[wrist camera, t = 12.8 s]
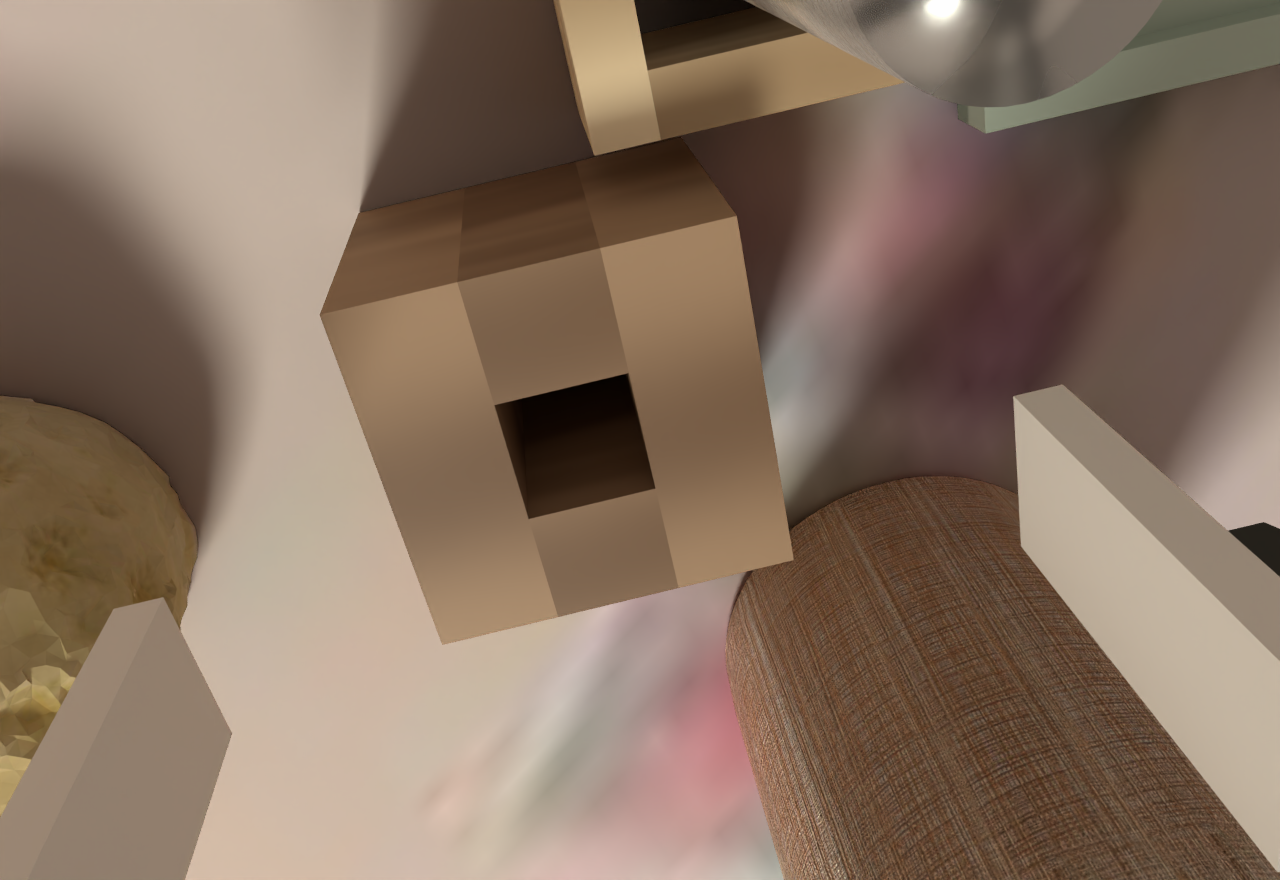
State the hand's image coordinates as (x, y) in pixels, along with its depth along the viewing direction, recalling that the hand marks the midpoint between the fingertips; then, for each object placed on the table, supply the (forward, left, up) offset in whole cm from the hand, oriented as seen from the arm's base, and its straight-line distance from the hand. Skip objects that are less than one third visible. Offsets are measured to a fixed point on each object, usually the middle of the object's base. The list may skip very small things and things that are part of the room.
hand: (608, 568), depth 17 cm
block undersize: (0, 0, -9) cm, 9 cm away
